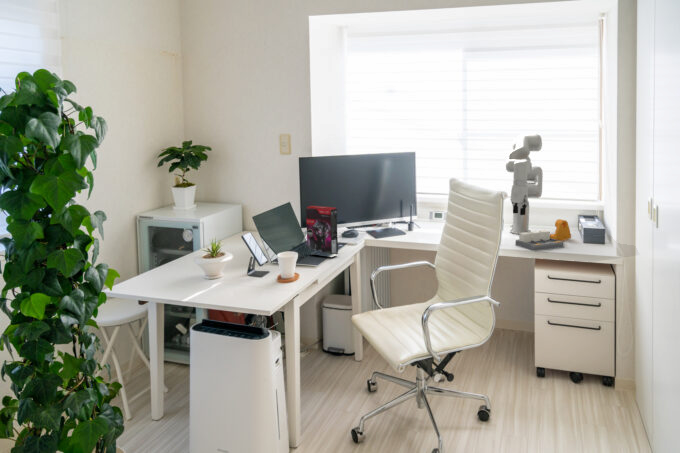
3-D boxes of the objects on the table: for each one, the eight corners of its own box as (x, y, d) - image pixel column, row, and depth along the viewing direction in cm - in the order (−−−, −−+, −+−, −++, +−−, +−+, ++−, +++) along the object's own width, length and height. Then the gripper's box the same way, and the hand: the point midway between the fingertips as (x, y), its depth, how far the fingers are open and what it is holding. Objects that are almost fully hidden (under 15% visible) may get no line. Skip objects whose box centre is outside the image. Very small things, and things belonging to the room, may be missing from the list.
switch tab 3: (537, 239, 361) (538, 230, 360) (544, 238, 362) (545, 230, 361) (542, 240, 357) (542, 232, 356) (549, 239, 359) (549, 231, 358)
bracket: (562, 237, 375) (563, 217, 373) (570, 239, 369) (571, 219, 366) (547, 238, 371) (548, 219, 369) (556, 241, 365) (556, 221, 362)
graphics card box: (306, 255, 344) (304, 207, 339) (313, 252, 350) (312, 205, 345) (331, 259, 335) (330, 209, 330) (339, 256, 340) (337, 207, 335)
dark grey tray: (515, 245, 357) (515, 239, 357) (544, 241, 365) (544, 236, 364) (533, 250, 343) (533, 245, 342) (563, 246, 350) (563, 241, 350)
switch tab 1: (519, 241, 356) (519, 233, 355) (526, 240, 358) (526, 232, 357) (523, 243, 352) (524, 234, 351) (530, 242, 354) (531, 233, 353)
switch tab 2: (528, 240, 358) (528, 232, 357) (535, 239, 360) (536, 231, 359) (533, 241, 355) (533, 233, 354) (540, 240, 356) (540, 232, 355)
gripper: (505, 181, 361) (504, 212, 364) (524, 185, 345) (523, 217, 348) (516, 180, 363) (515, 211, 367) (535, 184, 348) (534, 215, 351)
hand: (519, 213), depth 358 cm, fingers open, 5 cm apart
